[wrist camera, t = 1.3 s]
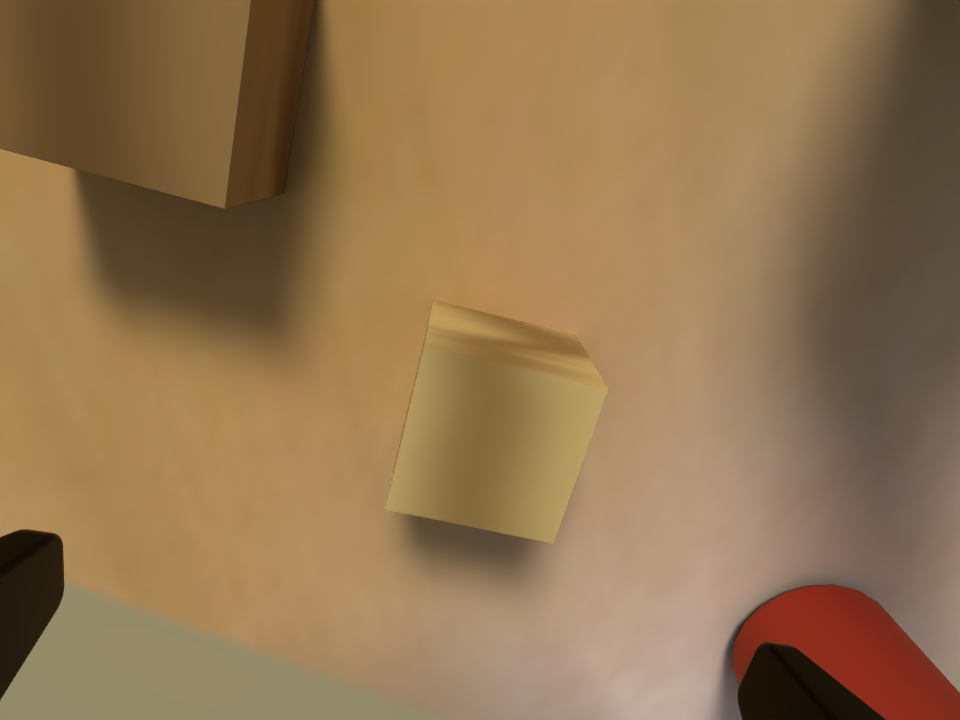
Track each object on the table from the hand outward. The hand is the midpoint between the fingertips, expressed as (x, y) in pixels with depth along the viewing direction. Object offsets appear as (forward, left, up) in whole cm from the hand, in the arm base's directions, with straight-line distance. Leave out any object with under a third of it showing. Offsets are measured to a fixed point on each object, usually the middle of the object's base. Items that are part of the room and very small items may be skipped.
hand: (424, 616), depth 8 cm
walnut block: (+9, -6, -13) cm, 17 cm away
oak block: (-2, +2, -13) cm, 14 cm away
